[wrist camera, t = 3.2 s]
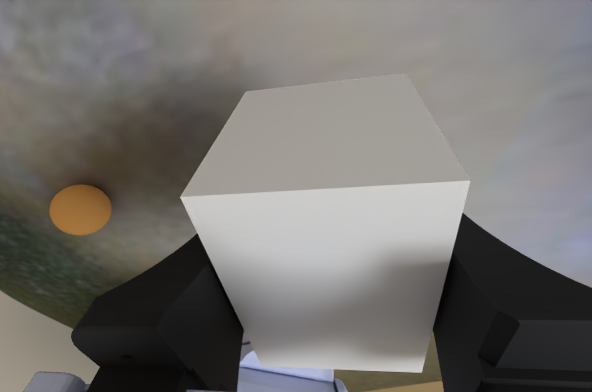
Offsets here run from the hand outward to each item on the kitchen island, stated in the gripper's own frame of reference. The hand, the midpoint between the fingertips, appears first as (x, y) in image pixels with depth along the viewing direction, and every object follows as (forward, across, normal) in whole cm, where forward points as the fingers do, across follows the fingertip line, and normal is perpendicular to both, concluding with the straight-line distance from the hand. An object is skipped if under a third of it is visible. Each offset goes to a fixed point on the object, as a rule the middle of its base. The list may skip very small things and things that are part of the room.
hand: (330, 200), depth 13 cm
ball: (+6, +20, +5) cm, 22 cm away
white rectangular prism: (+2, 0, 0) cm, 2 cm away
